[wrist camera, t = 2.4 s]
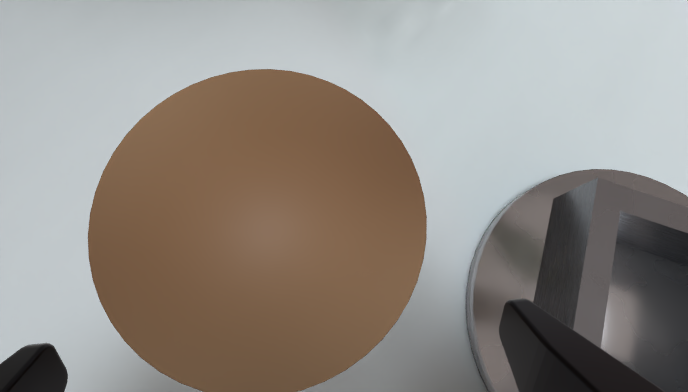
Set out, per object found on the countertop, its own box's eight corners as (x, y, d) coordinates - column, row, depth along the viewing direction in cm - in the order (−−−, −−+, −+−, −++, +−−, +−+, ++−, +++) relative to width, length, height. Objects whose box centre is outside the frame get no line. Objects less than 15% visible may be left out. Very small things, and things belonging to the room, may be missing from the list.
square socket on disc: (751, 538, 16) (890, 612, 12) (432, 425, 16) (467, 460, 12) (763, 227, 19) (873, 207, 16) (501, 140, 20) (545, 99, 16)
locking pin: (366, 301, 17) (490, 278, 5) (282, 352, 17) (176, 478, 4) (320, 221, 18) (325, 25, 6) (238, 265, 17) (37, 153, 5)
